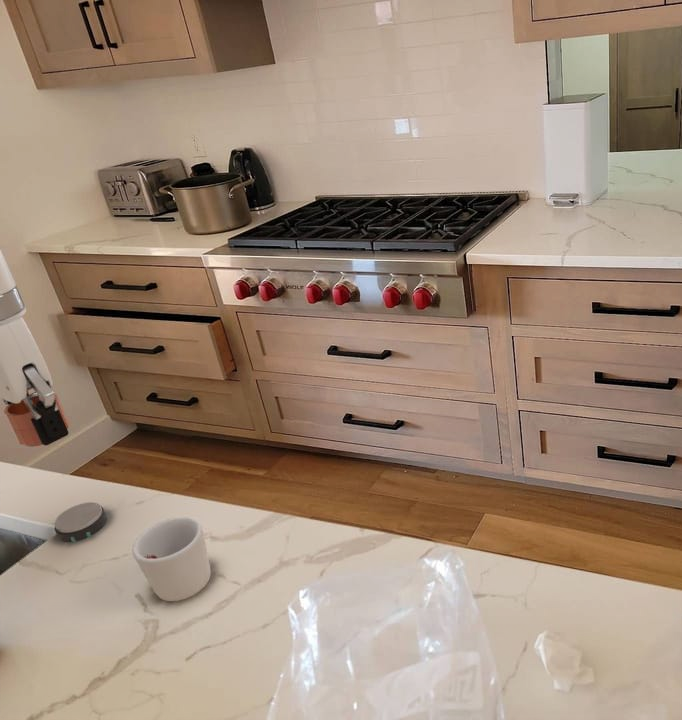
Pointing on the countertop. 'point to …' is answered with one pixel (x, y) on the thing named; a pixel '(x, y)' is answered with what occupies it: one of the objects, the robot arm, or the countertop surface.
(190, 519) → the cup
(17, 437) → the terracotta plant pot
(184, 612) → the countertop surface
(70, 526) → the scale
